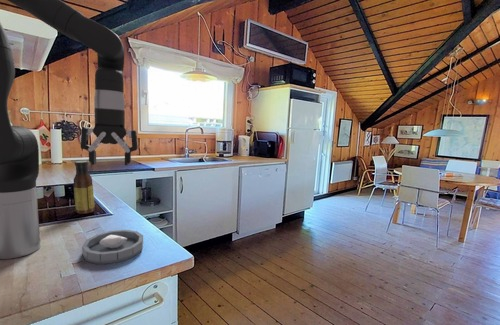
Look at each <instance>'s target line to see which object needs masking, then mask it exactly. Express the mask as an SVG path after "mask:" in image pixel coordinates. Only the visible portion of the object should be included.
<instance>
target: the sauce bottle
mask: <svg viewBox="0 0 500 325" xmlns="http://www.w3.org/2000/svg"><path fill="white" fill-rule="evenodd" d="M88 161H89V160H77V161H75V162H74V165H75V171H76V172H75V175H74V178H73V193H74V194H73V196H74V203H75V204H74V205H75V210H76V213H77V214H79V215H84V214H91V213H93V212H94V211H95V204H96V203H95V194H94V184H93V177H92V176H91V175H90V173H89V168H88V166H89V162H88Z"/></svg>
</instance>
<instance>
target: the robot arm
mask: <svg viewBox="0 0 500 325" xmlns="http://www.w3.org/2000/svg"><path fill="white" fill-rule="evenodd" d="M6 1H7V2H10V3H12V4H13V5H14V6H16V7H19V8H20V9H22V10H24V11H26V12H27V13H29V14H30V15H32V16H34V17H35V18H36V19H38V20H40V21H41V22H43V23H45V24H46V25H48V26H49V27H50V28H52V29H54V30H55V31H57V32H59V33H61V34H62V35H63V36H66V37H68V38H69V39H71V40H74V41H76V42H79V43H81V44H83V45H84V46H86V48H89V49H91V50H92V51H93V52H95V53H96V55H97V69H96V70H95V75H94V99H93V101H94V104H93V107H94V127H93V128H92V127H91V128H90V127H87V126H85V127H82V128H81V129H80V130H81V132H80V149H82V150H85V151H87V152H88V161H89V162H88V163H91V165H92V166H95V165H97V150H96V149H97V148H98V147H99V146H100V145H101V144H103V145H108V144H109V145H110V144H111V145H117V144H119V146H120V147H121V148H123V150H124V166H128V165H129V164H131V160H132V158H131V157H132V152H135V151H137V150H138V148H139V147H138V132H137V130H135V129H133V130H127V129H126V126H125V125H126V121H125V120H126V119H125V118H126V115H125V113H126V112H125V111H126V110H125V109H126V105H125V103H126V101H125V95H124V94H125V93H124V92H125V91H124V90H125V86H124V81H125V80H124V67H125V47H124V44H123V42H122V40H121V38H120V37H119V35H118V34H116V33H115V32H114V31H113V30H111V29H110V28H108V27H106V26H105V25H104V24H100V23H99V22H97V21H95V20H93V19H91V18H88V17H87V16H86V15H84V14H83V13H81V11H79V10H77V9H76V8H74V7H72V6H71V5H69V4H68V3H66V2H65V1H63V0H6ZM12 51H13V50H12V46H11V44H10V41H9V38H8V36H7V33H6V30H5V29H4V27H3V24H2V23H1V22H0V260H8V259H16V258H21V257H25V256H27V255H30V254H33V253H35V252H36V251H38V250H39V249H40V247H41V236H40V221H39V220H40V219H39V208H38V207H39V206H38V194H37V192H38V191H37V179H38V176H39V173H40V156H39V155H40V152H39V151H40V149H39V148H40V147H39V142H38V140H37V139H38V138H37V136H36V135H35V134H34V132H32V131H31V129H29V128H26V127H24V126H20V125H12V124H11V120H10V117H9V112H8V100H9V99H8V98H9V94H10V92H11V89H12V88H13V84H14V80H15V77H16V67H15V62H14V57H13V52H12ZM92 133H93V134H94V135H95V137H96V138H95V140H93V142H92V143H91V145H89V137H90V136H91V135H92ZM126 135H128V137H129V138H131V146H129V145H128V143H127V142H126V141H125V139H124V138H125V136H126Z"/></svg>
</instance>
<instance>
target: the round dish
mask: <svg viewBox="0 0 500 325" xmlns="http://www.w3.org/2000/svg"><path fill="white" fill-rule="evenodd" d="M109 235H116V236H121V237H125V238H128V239H127V240H126V241H125V242H124V243H123V244H122V245H121V246H120V247H118V248H110V247H104V246H102V245H100V244H99V242H100V241H101V240H102V239H104V238H106V237H107V236H109ZM143 248H144V235H143V234H142V233H140V232H139V231H137V230H131V229H118V230H109V231H106V232H101V233H98V234H95V235H93V236H92V237H89V238H88V239H86V240H85V241H84V242H83V244H82V245H81V250H82V251H81V252H82V255H83V259H84V260H85V261H86V262H88V263H90V264H95V265H109V264H117V263H121V262H124V261H128V260H129V259H133V258H134V257H135V256H137V255H138V254H140V253H141V252H142V250H143Z"/></svg>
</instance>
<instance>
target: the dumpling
mask: <svg viewBox="0 0 500 325" xmlns="http://www.w3.org/2000/svg"><path fill="white" fill-rule="evenodd" d="M127 239H128V238H125V237H121V236H116V235H109V236H107V237H106V238H104V239H102V240H101V241H100V242H99V244H100V245H102V246H104V247H110V248H118V247H120V246H121V245H122V244H123V243H124V242H125V241H126V240H127Z"/></svg>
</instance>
